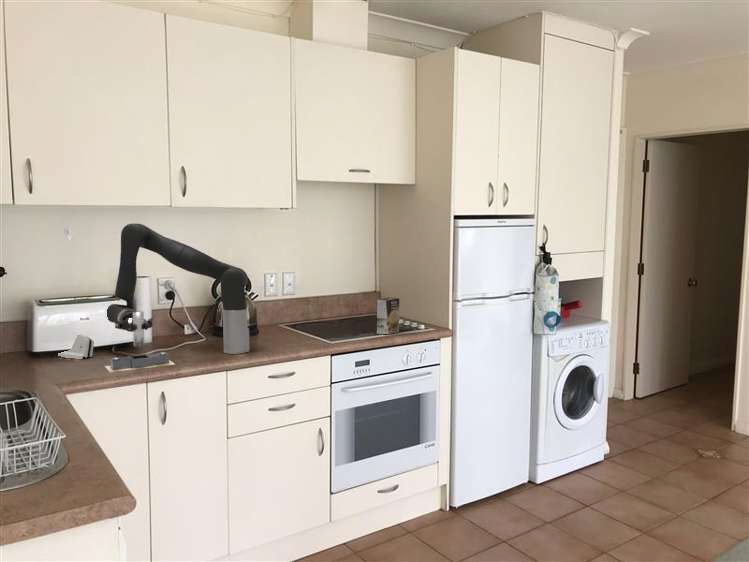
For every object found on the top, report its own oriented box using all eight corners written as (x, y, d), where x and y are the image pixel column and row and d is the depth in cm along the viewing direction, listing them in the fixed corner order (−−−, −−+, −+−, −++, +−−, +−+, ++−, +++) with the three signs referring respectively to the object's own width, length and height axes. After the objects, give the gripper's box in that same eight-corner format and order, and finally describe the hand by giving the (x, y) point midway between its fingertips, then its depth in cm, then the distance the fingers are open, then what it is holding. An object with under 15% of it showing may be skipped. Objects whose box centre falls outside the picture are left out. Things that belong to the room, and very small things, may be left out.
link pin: (143, 344, 230) (142, 311, 228) (145, 346, 227) (144, 312, 225) (132, 345, 228) (131, 311, 227) (134, 347, 225) (133, 313, 223)
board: (167, 360, 238) (167, 358, 238) (175, 366, 230) (175, 364, 230) (104, 368, 226) (104, 366, 226) (110, 374, 218) (110, 372, 218)
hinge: (49, 356, 244) (55, 330, 246) (59, 358, 248) (65, 333, 250) (81, 361, 237) (87, 334, 239) (91, 362, 242) (97, 336, 244)
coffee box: (387, 335, 290) (388, 300, 288) (376, 333, 294) (376, 299, 292) (399, 332, 297) (399, 298, 296) (388, 330, 301) (388, 297, 299)
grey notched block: (164, 360, 236) (164, 350, 236) (170, 364, 230) (169, 354, 230) (109, 366, 226) (109, 356, 226) (113, 370, 220) (113, 360, 219)
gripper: (109, 311, 234) (118, 318, 220) (149, 308, 242) (160, 315, 227) (109, 331, 235) (119, 339, 221) (149, 328, 243) (161, 336, 228)
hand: (140, 327), depth 224 cm, fingers closed on link pin, 3 cm apart
